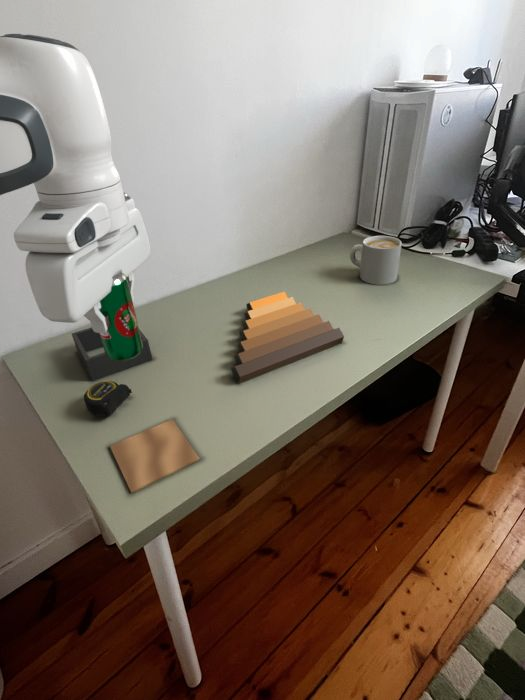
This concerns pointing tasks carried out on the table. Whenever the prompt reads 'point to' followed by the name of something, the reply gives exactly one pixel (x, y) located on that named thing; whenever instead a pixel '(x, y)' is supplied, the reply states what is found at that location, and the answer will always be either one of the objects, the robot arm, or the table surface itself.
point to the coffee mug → (378, 259)
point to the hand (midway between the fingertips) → (115, 317)
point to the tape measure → (105, 397)
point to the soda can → (120, 322)
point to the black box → (101, 363)
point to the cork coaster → (153, 455)
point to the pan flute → (280, 336)
